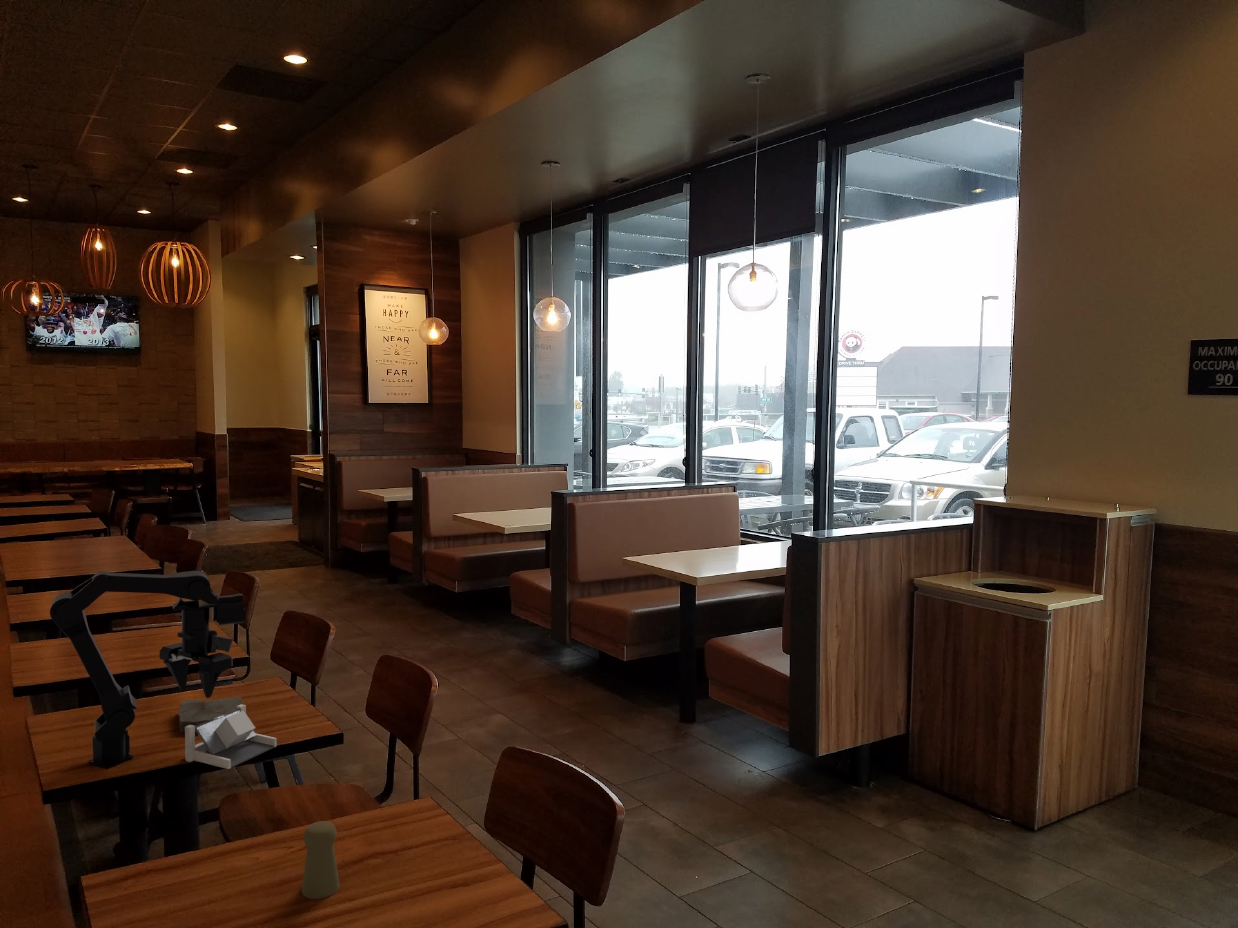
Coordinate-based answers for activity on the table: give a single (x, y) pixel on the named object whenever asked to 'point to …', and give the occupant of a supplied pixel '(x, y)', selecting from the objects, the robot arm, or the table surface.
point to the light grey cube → (235, 729)
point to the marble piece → (204, 710)
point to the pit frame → (230, 755)
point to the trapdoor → (211, 737)
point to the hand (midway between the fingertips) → (195, 693)
